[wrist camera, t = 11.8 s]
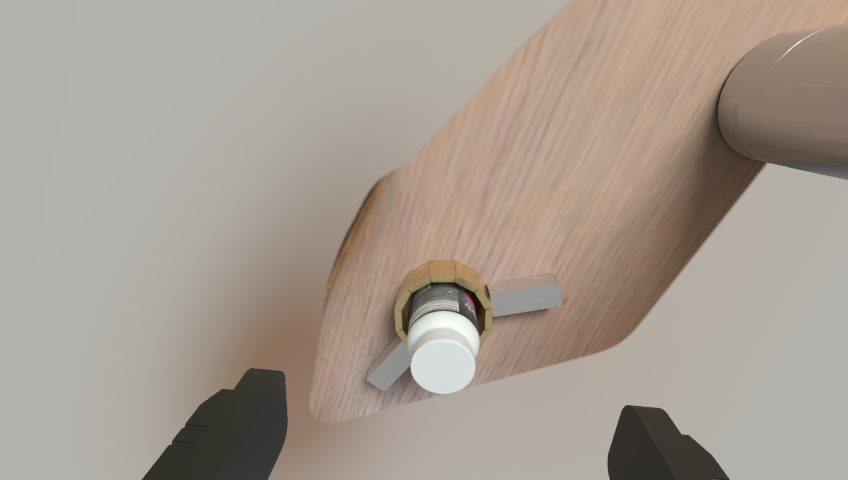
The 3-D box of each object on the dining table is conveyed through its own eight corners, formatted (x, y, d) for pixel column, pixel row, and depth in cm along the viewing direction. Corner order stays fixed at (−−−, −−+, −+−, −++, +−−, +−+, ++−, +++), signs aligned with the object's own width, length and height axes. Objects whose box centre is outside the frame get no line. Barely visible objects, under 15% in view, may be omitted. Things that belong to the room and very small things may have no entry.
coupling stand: (519, 211, 35) (526, 223, 32) (563, 290, 37) (573, 308, 34) (330, 315, 39) (321, 334, 36) (381, 380, 41) (376, 402, 38)
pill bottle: (477, 322, 39) (489, 395, 29) (419, 331, 39) (412, 405, 30) (467, 268, 37) (477, 328, 27) (406, 278, 37) (394, 341, 28)
